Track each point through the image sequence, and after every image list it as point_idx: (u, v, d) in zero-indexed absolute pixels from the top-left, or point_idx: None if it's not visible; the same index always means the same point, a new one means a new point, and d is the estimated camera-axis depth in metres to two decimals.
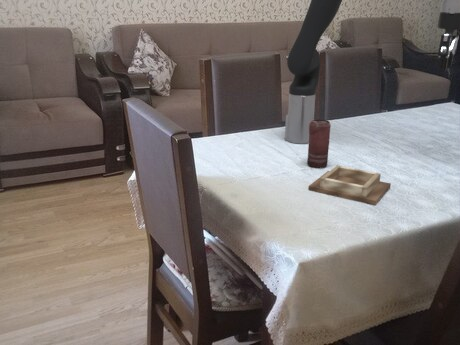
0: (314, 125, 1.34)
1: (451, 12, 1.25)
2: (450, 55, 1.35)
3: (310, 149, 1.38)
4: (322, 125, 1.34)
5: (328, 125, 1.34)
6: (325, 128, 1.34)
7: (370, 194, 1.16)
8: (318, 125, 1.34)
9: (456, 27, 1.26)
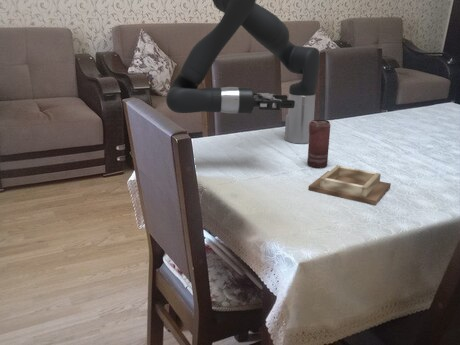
0: (314, 125, 1.34)
1: None
2: None
3: (310, 149, 1.38)
4: (322, 125, 1.34)
5: (328, 125, 1.34)
6: (325, 128, 1.34)
7: (370, 194, 1.16)
8: (318, 125, 1.34)
9: None
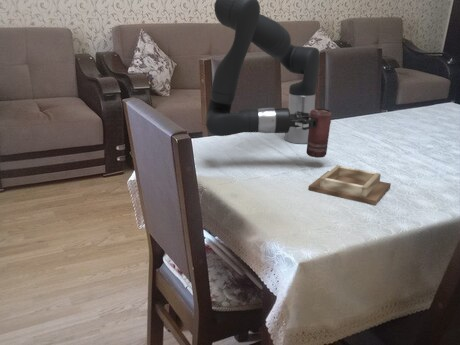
0: (315, 113, 1.33)
1: None
2: None
3: (310, 138, 1.36)
4: (323, 114, 1.32)
5: (329, 114, 1.33)
6: (326, 117, 1.33)
7: (370, 194, 1.16)
8: (319, 114, 1.33)
9: None
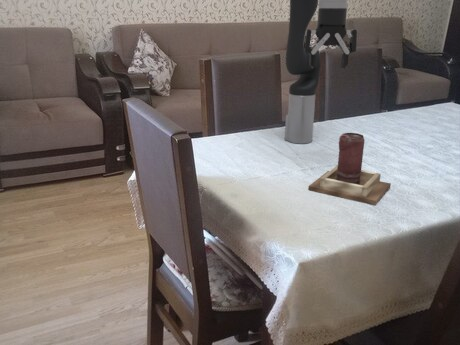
0: (346, 140, 1.16)
1: None
2: (343, 54, 1.26)
3: (340, 167, 1.19)
4: (355, 140, 1.15)
5: (362, 140, 1.16)
6: (359, 143, 1.15)
7: (370, 194, 1.16)
8: (351, 140, 1.15)
9: (320, 23, 1.22)
